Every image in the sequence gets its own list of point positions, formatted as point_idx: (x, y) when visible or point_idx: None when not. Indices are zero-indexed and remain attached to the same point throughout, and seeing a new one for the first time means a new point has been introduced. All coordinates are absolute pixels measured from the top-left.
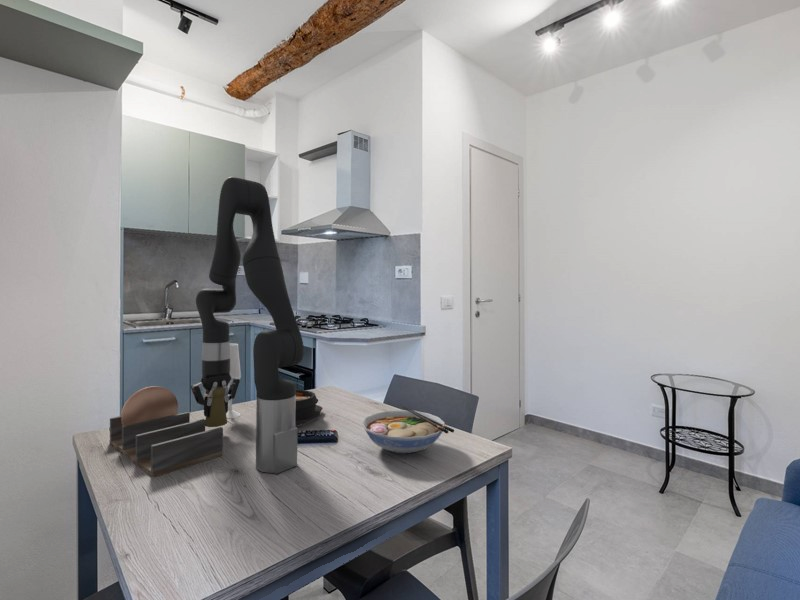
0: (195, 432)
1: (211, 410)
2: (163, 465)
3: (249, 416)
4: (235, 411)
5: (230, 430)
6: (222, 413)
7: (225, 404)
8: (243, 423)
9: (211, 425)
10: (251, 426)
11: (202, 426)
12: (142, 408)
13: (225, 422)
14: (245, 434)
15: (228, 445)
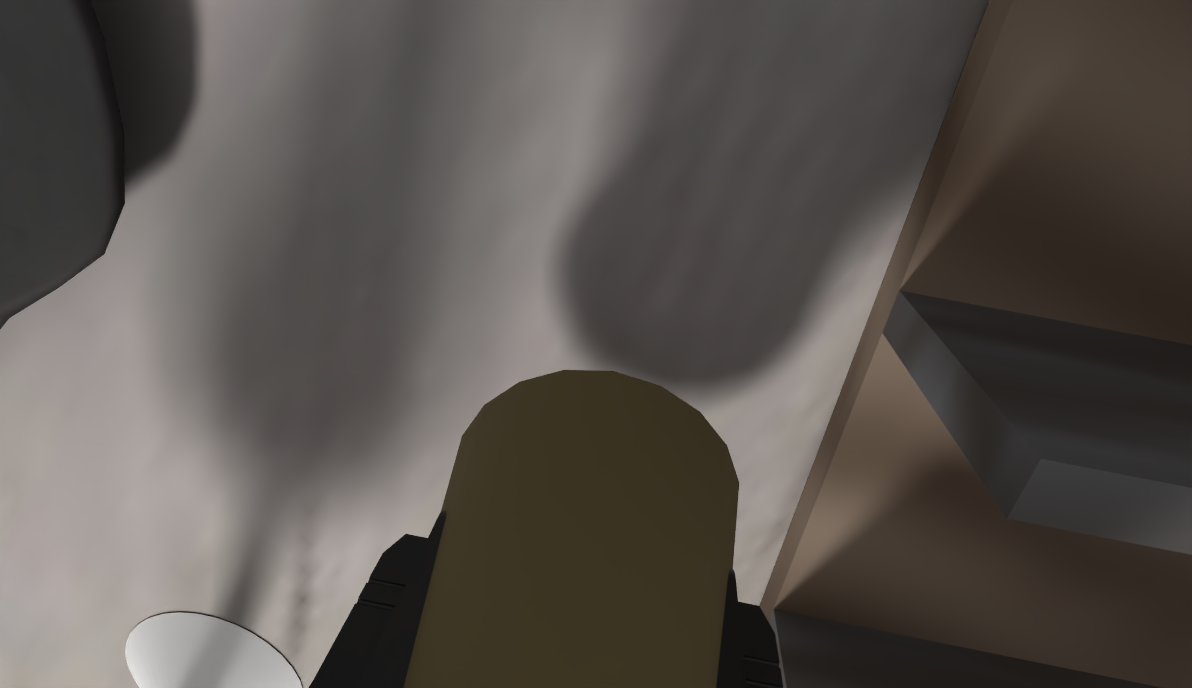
0: (1119, 388)
1: (713, 662)
2: None
3: (85, 540)
4: (148, 685)
5: (422, 401)
6: (551, 504)
7: (392, 661)
8: (219, 447)
9: (725, 456)
10: (195, 310)
11: (1042, 402)
12: None
13: (532, 393)
14: (380, 155)
15: (758, 7)
